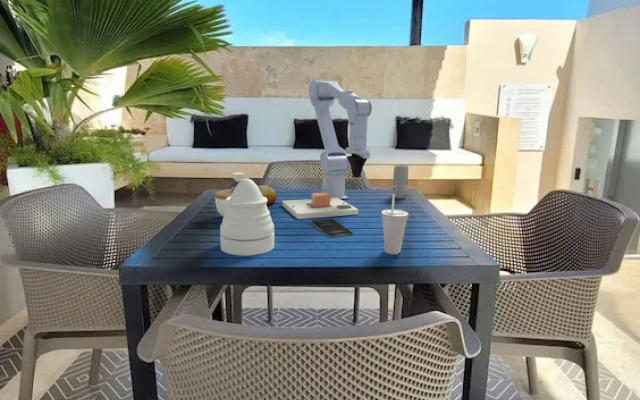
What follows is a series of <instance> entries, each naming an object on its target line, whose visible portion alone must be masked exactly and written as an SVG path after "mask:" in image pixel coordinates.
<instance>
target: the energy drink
mask: <svg viewBox="0 0 640 400" xmlns="http://www.w3.org/2000/svg"><path fill="white" fill-rule="evenodd" d="M392 177H393V178H392V179H393V180H392V181H393V182H392V194H395V199H400V200H401V199H406V198H408V197H407V196H408V195H407V194H408V181H409V165H408V164H395V165H394V167H393V176H392ZM392 194H391V195H392Z"/></svg>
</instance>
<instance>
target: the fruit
mask: <svg viewBox="0 0 640 400" xmlns="http://www.w3.org/2000/svg"><path fill="white" fill-rule="evenodd" d="M256 185H257V184H256ZM257 187H258V188H259V190H260V192H261V194H262V196H264V197H266V198H267V200H268V201H267V203H266V205H267V206H270V205H272V204H273V205H274V204H275V203H276V201H277V199H278V196H277V192H276V191H275V189H274V188H272V187H270V186H269V185H257Z"/></svg>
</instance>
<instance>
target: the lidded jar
mask: <svg viewBox="0 0 640 400" xmlns="http://www.w3.org/2000/svg"><path fill="white" fill-rule="evenodd" d="M235 188H236V186H230V188H228V189H227V188H225V189H221V190H217V191H215V192H214V198H215V207H216V210H217V212H218V214H220V216H221V217H223V218H224V212H225V211H226V209H227V206H228V205H227V204H226V203H225V199H226V198H228V197H230V196H231V195H232V193H233V191H234V189H235ZM223 218H222V219H223Z"/></svg>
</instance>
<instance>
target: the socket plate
mask: <svg viewBox="0 0 640 400" xmlns="http://www.w3.org/2000/svg"><path fill="white" fill-rule="evenodd" d="M281 206H282V207H283V208H284V209H286V210H287V211H288V212H289V214H291V215H292V216H294V217H295V218H296V219H297V220H304V219H316V218H318V219H319V218H328V217H331V218H332V217H340V216H341V217H342V216H343V217H344V216H355V215H356V216H357V215H359V211H360V210H359V209H358V208H357V207H355V206H353V205H352V204H350V203H347V202H346V201H344V200H343V199H339V198H337V197H336V198H330V207H324V208H314V207H313V206H312V198H307V199H306V198H305V199H304V198H303V199H292V200H290V199H289V200H282V201H281Z"/></svg>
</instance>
